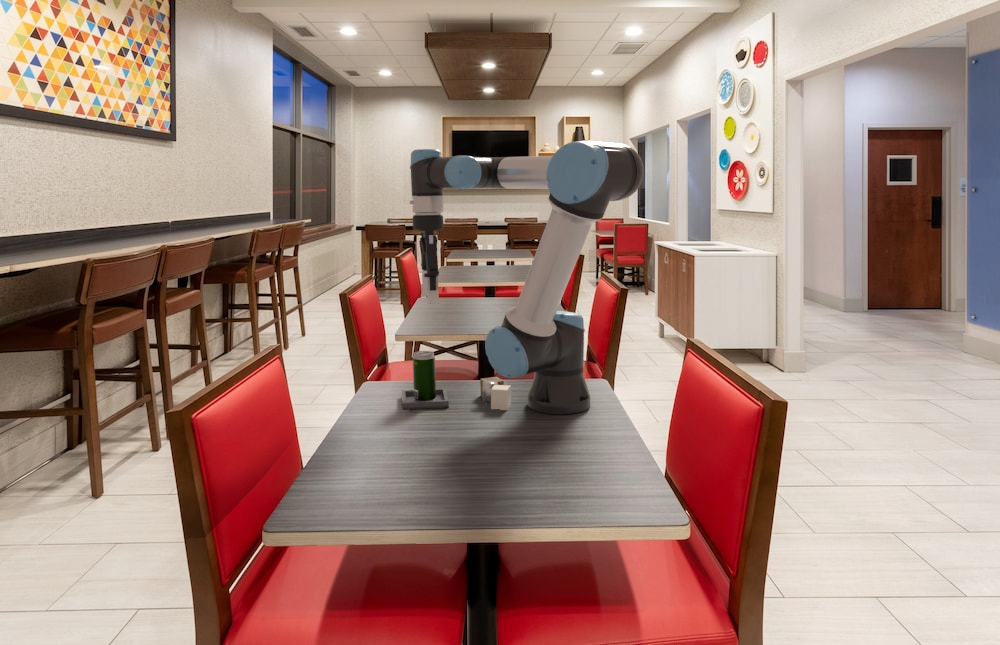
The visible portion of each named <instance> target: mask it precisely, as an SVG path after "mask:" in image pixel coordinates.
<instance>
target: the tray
mask: <svg viewBox="0 0 1000 645" xmlns="http://www.w3.org/2000/svg"><path fill="white" fill-rule="evenodd" d="M401 393H402V394H401V396H402V397H401V398H402V399H401V401H402V402H401V403H402V410H403V411H405V410H423V409H424V410H425V409H440V408H441V409H442V408H444V409H446V408H449V406H450V404H449V397H448V393H447V389H446V387H445V388H443V387H442V388H436V398H435V401H420V402H416V401H415V399H414V389H408V390H407V389H406V390H405V389H404V390H401Z"/></svg>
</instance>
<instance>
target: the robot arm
mask: <svg viewBox="0 0 1000 645" xmlns="http://www.w3.org/2000/svg"><path fill="white" fill-rule="evenodd" d="M409 169H410V183H411V196H412V197H411V199H412V200H409V204H410V205H412V206H411V207H412V208H411V209H412V213H413V216H412V229H413V230H414V231H418V232H419V231H421V233H420V236H421V237H419V243H420V252H421V260H420V261H421V263H420V266H421V270H422V271H421V278H422V285H421V286H422V296H423V297H427V298H426V299H427V300H426V302H427V303H426V304H427V305H434V304H436V305H437V304H439V303H440V302H439V301H440V300H439V295H440V294H439V275H440V271H439V262H438V237H437V235H436V234H435V232H434V231H442V230H444V216H443V214H442V213H443V212H444V196H443V190H459V191H461V190H473V189H474V190H475V189H477V190H478V189H479V190H480V189H483V190H484V189H486V190H487V189H492V190H493V189H496V190H498V189H499V190H509V189H510V190H511V189H512V190H513V189H514V190H515V189H517V190H548V192H550V193H549V195H548V201H549V202H548V203H550V206H551V209H552V210H551V211H550V214H549V217H548V220H547V223H546V225H545V228H544V230H543V233H542V236H541V239H540V241H539V244H538V246H537V249H536V251H535V254H534V257H533V260H532V263H531V265H530V268H529V270H528V273H527V276H526V279H525V281H524V285H523V286H522V289H521V292H520V294H519V296H518V297H519V298H518V300H517V303H516V305H514V306H512V307H509V308H508V309H507V310H506V313H505V315H504V317H503V321H502V323H501V325H499V326H495V327H494V328H493V329H491V330H489V331H488V333H487V335H486V337H485V341H484V345H485V346H484V348H485V354H486V356H487V359H488V362H489V364H490V366H491V367H492V369H494V371H495V372H496V373H497V374H499V375H500V376H502V377H504V378H510V379H512V378H513V379H514V378H521V377H524V376H526V375H529V374H532V373H534V376H533V379H532V382H531V385H530V389H529V391H528V394H527V406H528V408H529V409H530V410H533V411H535V412H539V413H542V414H550V415H569V414H570V415H571V414H572V415H573V414H577V413H582V412H585V411H587V410H589V409H590V408H591V394H590V390H589V389H588V388H589V387H588V384H587V382H586V379H585V376H584V359H585V356H584V355H585V354H584V352H585V351H584V350H585V349H584V348H585V347H584V346H585V344H584V343H585V330H586V329H585V327H584V326H585V322H584V317H583V316H582V315H581V314H579V313H577V312H572V311H566V310H564V311H563V310H558V309H559V306H560V304H561V301H562V298H563V296H564V293H565V292H566V289H567V286H568V284H569V281H570V279H571V277H572V273H573V272H574V269H575V267H576V265H577V262H578V259H579V257H580V254H581V252H582V250H583V247H584V244H585V243H586V240H587V237H588V235H589V232H590V229H591V227H592V225H593V223H597V222H599V221H601V220H602V219H603V217H604V215H605V212H606V210H607V208H608V205H609V204H610V202H617V201H622V200H625V199H627V198H629V197H631V196H633V194H635V193H636V192H637V190H638V189H640V186H641V185H642V182H643V180H644V179H643V178H644V172H645V169H644V164H643V160H642V158H641V156H640V154H639V153H638V152H637V150H635V149H634V148H633V147H631V146H629V145H627V144H625V143H620V142H608V141H607V142H605V141H603V142H602V141H593V140H588V139H587V140H586V139H585V140H582V139H581V140H579V141H577V140H576V141H572V142H568V143H566V144H564V145H562V146H560V147H559V148H558V149H557V150H555V152H554V153H553V155H540V156H539V155H536V156H535V155H534V156H533V155H532V156H507V157H506V156H501V157H499V156H496V157H490V156H488V157H486V156H485V157H484V156H483V157H482V156H481V157H480V156H471V155H460V154H459V155H455V156H453V155H451V156H442V151H441V150H439V149H435V148H433V149H432V148H430V149H429V148H426V149H425V148H423V149H414V150H412V152H411V153H410V166H409Z"/></svg>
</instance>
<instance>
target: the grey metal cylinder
mask: <svg viewBox="0 0 1000 645" xmlns="http://www.w3.org/2000/svg"><path fill="white" fill-rule="evenodd" d="M494 385H498V382H496V381H484V382H483V397H482V402H484V403H487V404H486V405H491V389H492V387H493V386H494ZM484 403H483V404H484Z"/></svg>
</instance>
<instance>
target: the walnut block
mask: <svg viewBox="0 0 1000 645" xmlns="http://www.w3.org/2000/svg"><path fill="white" fill-rule="evenodd" d="M484 381H496V382H498V385H505V383H504V380H503V379H501V378H499V377H498V376H491V377H485V378H484V377H483V378H480V382H479V384H480V396H481V397H482V398H483V382H484Z"/></svg>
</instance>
